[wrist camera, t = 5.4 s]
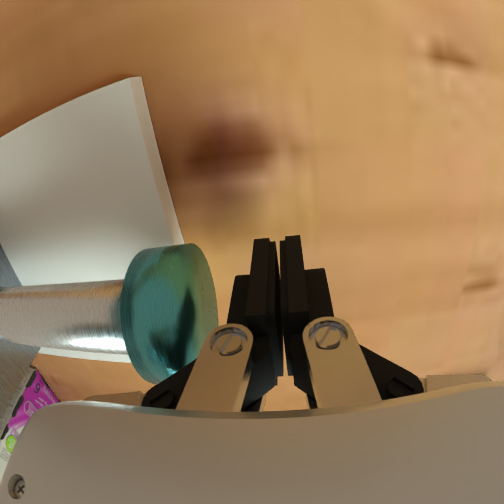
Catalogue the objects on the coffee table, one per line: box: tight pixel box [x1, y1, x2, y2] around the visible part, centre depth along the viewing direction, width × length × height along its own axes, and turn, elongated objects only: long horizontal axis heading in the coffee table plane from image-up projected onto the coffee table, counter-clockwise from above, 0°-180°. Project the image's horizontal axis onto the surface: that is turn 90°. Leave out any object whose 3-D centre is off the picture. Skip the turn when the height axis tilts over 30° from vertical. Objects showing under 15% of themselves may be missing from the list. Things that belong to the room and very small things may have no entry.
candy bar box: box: [0, 366, 60, 484], centre depth 20 cm, size 11×5×16 cm, turn 177°
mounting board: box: [0, 76, 184, 363], centre depth 16 cm, size 26×16×1 cm, turn 99°
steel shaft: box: [0, 243, 218, 384], centre depth 12 cm, size 23×5×5 cm, turn 99°
